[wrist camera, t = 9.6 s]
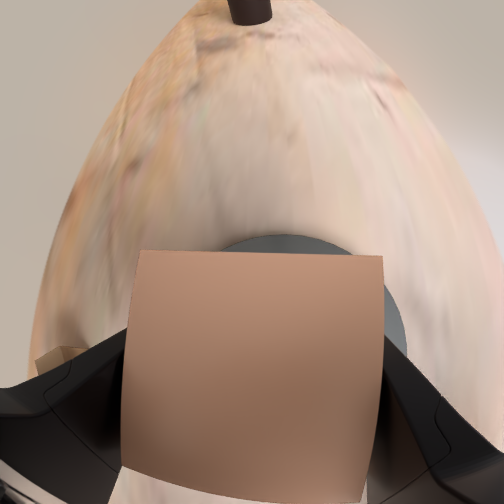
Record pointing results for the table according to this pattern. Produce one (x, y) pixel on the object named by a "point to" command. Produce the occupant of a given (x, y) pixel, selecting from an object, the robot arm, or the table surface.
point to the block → (56, 358)
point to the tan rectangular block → (254, 373)
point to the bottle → (250, 11)
